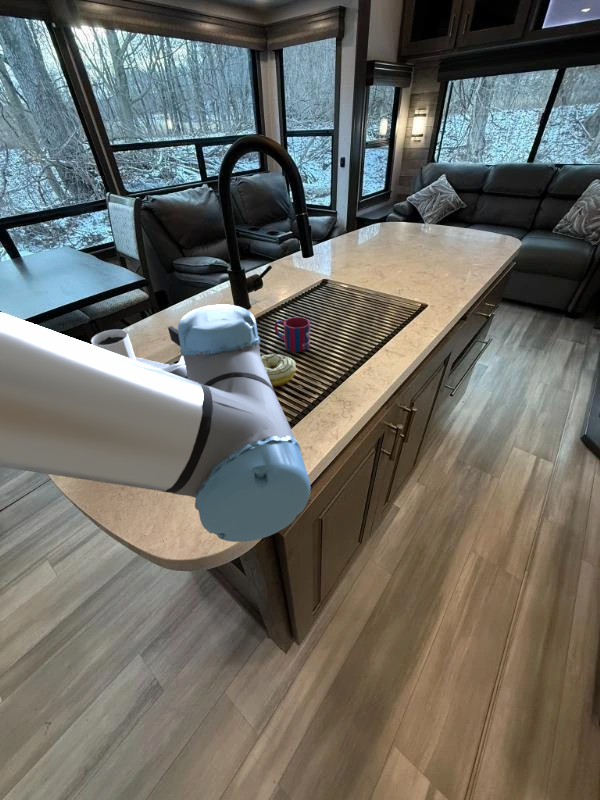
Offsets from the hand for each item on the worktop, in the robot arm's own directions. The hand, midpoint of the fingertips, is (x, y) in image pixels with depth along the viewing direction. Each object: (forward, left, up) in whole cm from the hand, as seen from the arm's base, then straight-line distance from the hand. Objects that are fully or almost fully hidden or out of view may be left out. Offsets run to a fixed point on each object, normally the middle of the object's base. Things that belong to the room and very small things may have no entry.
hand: (135, 345), depth 58 cm
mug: (+36, +14, -16) cm, 42 cm away
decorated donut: (+26, +2, -16) cm, 30 cm away
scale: (-3, +10, -16) cm, 19 cm away
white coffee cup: (-5, +10, -12) cm, 16 cm away
